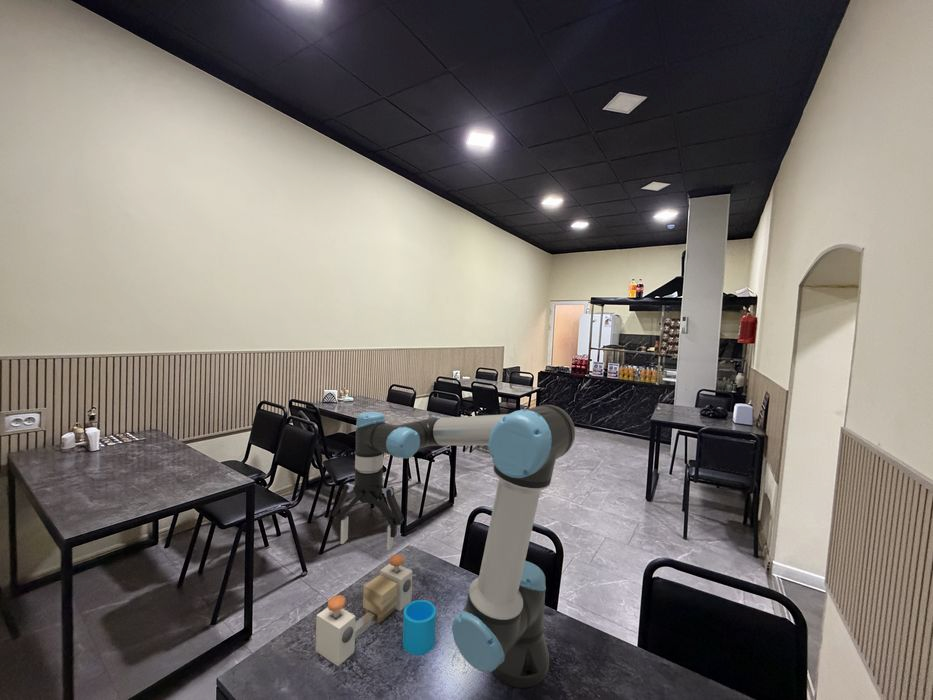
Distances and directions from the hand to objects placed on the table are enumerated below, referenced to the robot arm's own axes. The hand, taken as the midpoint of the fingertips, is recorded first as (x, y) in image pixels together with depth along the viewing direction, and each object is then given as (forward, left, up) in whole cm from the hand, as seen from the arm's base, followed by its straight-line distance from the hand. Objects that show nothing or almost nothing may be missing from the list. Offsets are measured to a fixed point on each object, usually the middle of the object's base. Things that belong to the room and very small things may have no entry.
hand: (366, 544), depth 106 cm
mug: (-18, -2, -20) cm, 27 cm away
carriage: (-3, -2, -20) cm, 20 cm away
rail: (-3, +2, -20) cm, 20 cm away
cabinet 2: (-3, -9, -20) cm, 22 cm away
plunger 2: (-3, -9, -12) cm, 15 cm away
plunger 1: (-3, +13, -12) cm, 18 cm away
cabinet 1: (-3, +13, -20) cm, 24 cm away
